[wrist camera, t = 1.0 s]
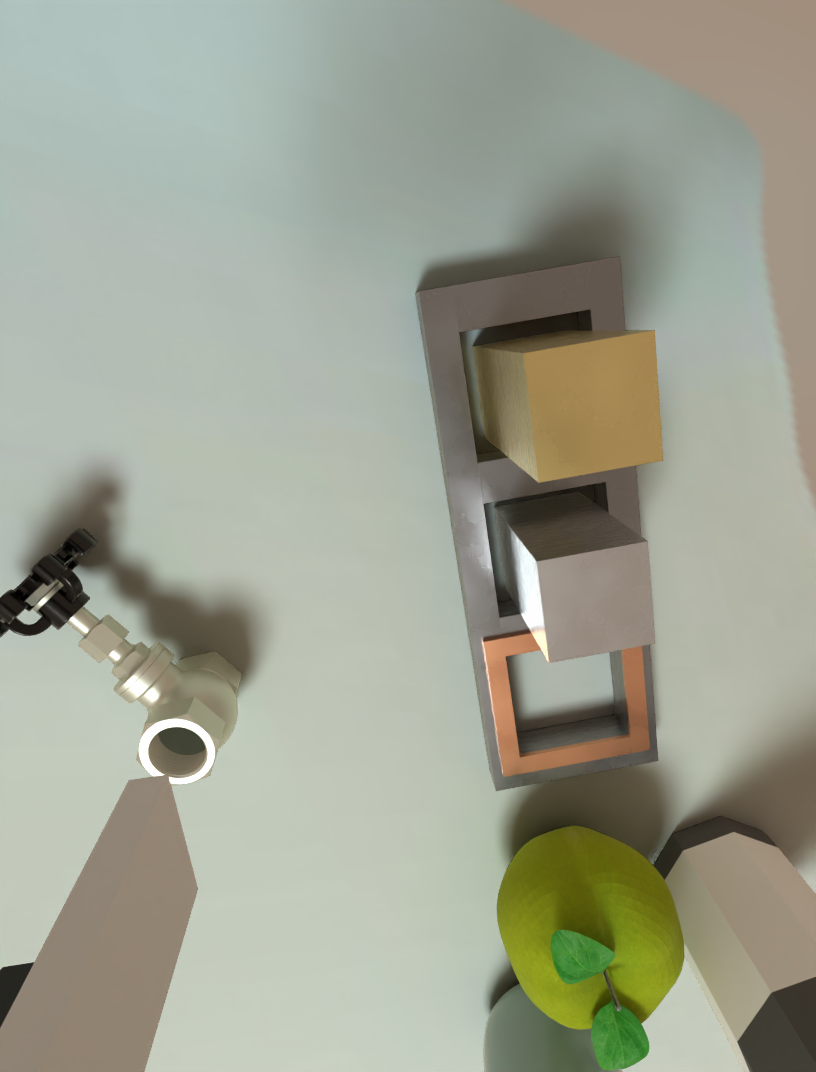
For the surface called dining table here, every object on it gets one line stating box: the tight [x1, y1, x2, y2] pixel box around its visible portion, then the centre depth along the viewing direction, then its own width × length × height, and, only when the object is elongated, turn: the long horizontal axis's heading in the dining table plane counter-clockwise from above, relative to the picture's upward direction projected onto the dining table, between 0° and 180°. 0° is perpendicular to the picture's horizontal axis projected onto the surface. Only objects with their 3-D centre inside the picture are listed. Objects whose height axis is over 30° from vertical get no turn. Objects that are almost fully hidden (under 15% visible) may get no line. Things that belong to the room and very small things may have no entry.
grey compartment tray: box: [415, 256, 658, 791], centre depth 36 cm, size 26×9×2 cm, turn 10°
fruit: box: [497, 826, 684, 1070], centre depth 38 cm, size 9×9×10 cm
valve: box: [0, 528, 242, 785], centre depth 34 cm, size 7×7×12 cm
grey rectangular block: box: [494, 492, 655, 663], centre depth 32 cm, size 4×4×9 cm
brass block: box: [472, 330, 663, 483], centre depth 29 cm, size 4×4×11 cm
